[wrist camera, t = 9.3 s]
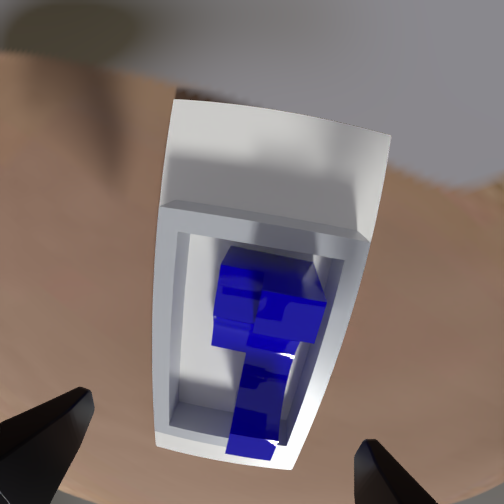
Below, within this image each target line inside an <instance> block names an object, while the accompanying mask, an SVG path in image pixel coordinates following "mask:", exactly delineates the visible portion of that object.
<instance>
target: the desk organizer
mask: <svg viewBox="0 0 504 504" xmlns="http://www.w3.org/2000/svg"><path fill="white" fill-rule="evenodd" d="M390 142H391V135H387V134H384V133H381V132H377V131H373V130H369V129H366V128H362V127H358V126H354V125H349V124H345V123H341V122H336V121H332V120H327V119H323V118H318V117H313V116H308V115H302V114H297V113H291V112H285V111H279V110H273V109H267V108H260V107H253V106H245V105H237V104H228V103H218V102H208V101H196V100H181V99H174V102H173V107H172V113H171V119H170V126H169V132H168V139H167V146H166V153H165V161H164V168H163V177H162V185H161V194H160V204H159V212H158V224H157V236H156V250H155V266H154V286H153V317H152V376H153V406H154V425H155V439H156V446H158V447H162V448H166V449H169V450H173V451H177V452H182V453H186V454H190V455H195V456H199V457H204V458H209V459H214V460H220V461H225V462H231V463H237V464H244V465H251V466H259V467H267V468H277V469H288V470H292V468H293V466H294V464H295V462H296V459H297V457H298V455H299V453H300V451H301V448H302V446H303V444H304V442H305V439H306V437H307V435H308V432H309V430H310V427H311V425H312V423H313V420H314V418H315V415H316V413H317V410H318V408H319V405H320V403H321V400H322V398H323V395H324V392H325V390H326V387H327V384H328V382H329V379H330V376H331V373H332V371H333V368H334V365H335V362H336V359H337V356H338V353H339V351H340V348H341V345H342V342H343V338H344V335H345V332H346V329H347V326H348V323H349V320H350V316H351V313H352V310H353V306H354V303H355V300H356V296H357V293H358V289H359V286H360V282H361V278H362V275H363V271H364V267H365V263H366V259H367V255H368V251H369V247H370V243H371V239H372V235H373V230H374V226H375V222H376V217H377V212H378V208H379V203H380V198H381V193H382V188H383V183H384V177H385V172H386V166H387V160H388V154H389V148H390ZM230 246H235V247H240V248H245V249H250V250H255V251H260V252H265V253H270V254H275V255H280V256H285V257H290V258H295V259H300V260H305V261H310V262H314V265H315V268H316V271H317V274H318V277H319V280H320V283H321V285H322V288H323V291H324V294H325V297H326V300H327V305H326V308H325V311H324V315H323V318H322V321H321V324H320V327H319V331H318V334H317V337H316V340H315V343H314V344H312V343H306V342H300V343H299V345H298V348H297V350H296V353H295V356H294V359H293V362H292V365H291V369H290V372H289V376H288V380H287V384H286V389H285V394H284V399H283V405H282V411H281V418H280V427H279V442H278V444H277V446H276V449H275V451H274V454H273V456H272V458H271V461H267V460H260V459H253V458H247V457H241V456H235V455H229V454H225V450H226V445H227V440H228V434H229V429H230V424H231V418H232V413H233V407H234V402H235V397H236V392H237V388H238V383H239V379H240V374H241V370H242V365H243V361H244V356H245V352H240V351H235V350H230V349H225V348H220V347H216V346H211V342H212V334H213V310H214V304H215V297H216V291H217V284H218V278H219V272H220V266H221V263H222V261H223V259H224V257H225V255H226V254H227V252H228V250H229V248H230Z"/></svg>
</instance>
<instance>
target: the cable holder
mask: <svg viewBox="0 0 504 504" xmlns="http://www.w3.org/2000/svg"><path fill="white" fill-rule="evenodd" d="M326 305H327V300H326V297H325V294H324V291H323V288H322V285H321V283H320V280H319V277H318V274H317V271H316V268H315V265H314V262H310V261H305V260H300V259H295V258H290V257H285V256H280V255H275V254H270V253H265V252H260V251H255V250H250V249H245V248H240V247H235V246H230V248H229V250H228V252H227V254H226V255H225V257H224V259H223V261H222V263H221V266H220V272H219V278H218V284H217V291H216V297H215V304H214V310H213V334H212V342H211V346H216V347H220V348H225V349H230V350H235V351H240V352H245V356H244V361H243V365H242V370H241V374H240V379H239V383H238V388H237V392H236V397H235V402H234V407H233V413H232V418H231V424H230V429H229V434H228V440H227V445H226V450H225V454H229V455H235V456H241V457H247V458H253V459H260V460H267V461H271V458H272V456H273V454H274V451H275V449H276V446H277V444H278V442H279V427H280V418H281V411H282V405H283V399H284V394H285V389H286V384H287V380H288V376H289V372H290V369H291V365H292V362H293V359H294V356H295V353H296V350H297V348H298V345H299V343H300V342H306V343H312V344H314V343H315V340H316V337H317V334H318V331H319V327H320V324H321V321H322V318H323V315H324V311H325V308H326Z"/></svg>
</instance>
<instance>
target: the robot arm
mask: <svg viewBox="0 0 504 504" xmlns="http://www.w3.org/2000/svg"><path fill="white" fill-rule="evenodd" d="M93 413H94V402H93V397H92V392H91V391H90V390H89V389H86V388H83V387H77V388H75V389H73V390H71V391H69V392H67V393H65V394H62V395H60V396H58V397H56V398H54V399H52V400H50V401H47V402H45V403H43V404H41V405H39V406H36V407H34V408H32V409H30V410H28V411H25V412H23V413H21V414H19V415H16V416H14V417H12V418H10V419H7V420H5V421H3V422H1V423H0V504H50V503H51V501H52V499H53V497H54V495H55V493H56V491H57V489H58V487H59V485H60V483H61V481H62V480H63V478H64V476H65V474H66V472H67V470H68V468H69V466H70V464H71V463H72V461H73V459H74V457H75V455H76V453H77V452H78V450H79V448H80V445H81V443H82V441H83V438H84V436H85V433H86V431H87V428H88V426H89V423H90V421H91V418H92V416H93ZM354 497H355V504H438V503H436V501H435V500H434V499H433V498H432V497H431V496H430V495H429V494H428V493H427V492H426V491H425V490H424V489H423V488H422V487H421V486H420V485H419V484H418V483H417V481H416V480H415V479H414V478H413V477H412V476H411V475H410V474H409V473H408V472H407V471H406V470H405V469H404V468H403V467H402V466H401V465H400V464H399V463H398V462H397V461H396V460H395V459H394V457H393V456H392V455H391V454H390V453H389V452H388V451H387V450H386V449H385V448H384V447H383V446H382V445H381V444H380V443H379V442H378V441H377V440H376V439H365V440H364V441H363V442H362V444H361V445H360V447H359V449H358V450H357V452H356V454H355V457H354Z"/></svg>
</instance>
